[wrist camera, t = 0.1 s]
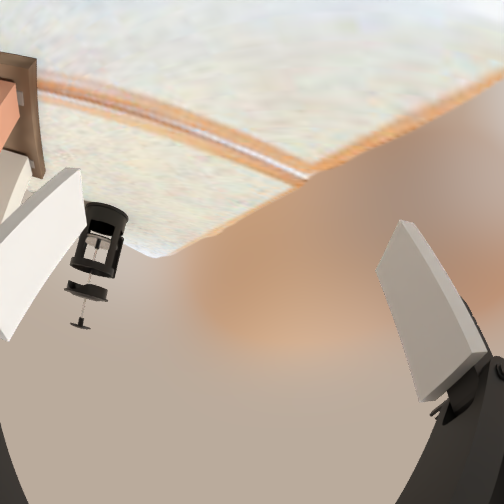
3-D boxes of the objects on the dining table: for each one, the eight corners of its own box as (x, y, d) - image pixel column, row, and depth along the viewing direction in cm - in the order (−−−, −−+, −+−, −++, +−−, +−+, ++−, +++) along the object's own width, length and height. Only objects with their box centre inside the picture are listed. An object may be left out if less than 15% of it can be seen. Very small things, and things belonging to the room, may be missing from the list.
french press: (74, 202, 51) (45, 318, 44) (107, 199, 49) (75, 329, 42) (109, 225, 62) (86, 327, 55) (141, 225, 59) (118, 336, 52)
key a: (28, 156, 32) (-3, 237, 28) (32, 174, 37) (6, 246, 33) (1, 149, 29) (-31, 227, 26) (8, 167, 34) (-19, 238, 31)
